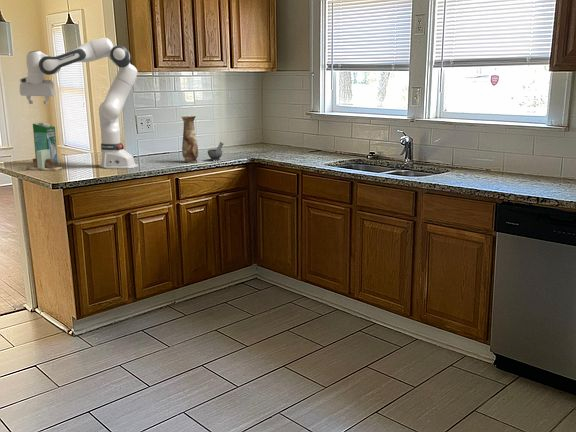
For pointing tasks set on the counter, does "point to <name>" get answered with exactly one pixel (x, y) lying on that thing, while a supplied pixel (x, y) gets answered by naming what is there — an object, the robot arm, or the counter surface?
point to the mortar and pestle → (216, 152)
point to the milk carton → (45, 139)
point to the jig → (48, 166)
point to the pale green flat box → (42, 158)
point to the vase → (189, 139)
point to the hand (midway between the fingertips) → (38, 104)
